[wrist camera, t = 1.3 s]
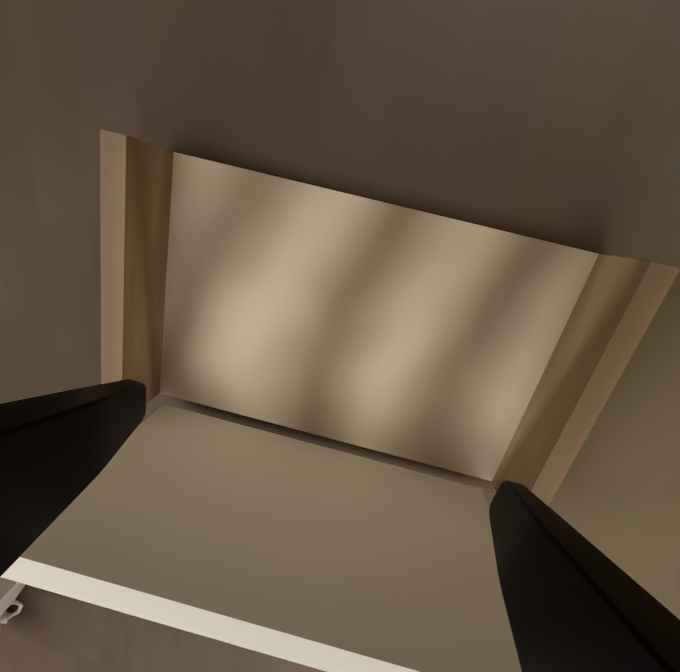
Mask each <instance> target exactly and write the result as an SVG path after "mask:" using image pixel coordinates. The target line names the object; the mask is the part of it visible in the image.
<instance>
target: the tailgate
mask: <svg viewBox="0 0 680 672" xmlns="http://www.w3.org/2000/svg"><path fill="white" fill-rule="evenodd" d="M1 577H2V578H6V579H9V580H13V581H16V582H19V583H23V584H26V585H30V586H33V587H37V588H40V589H44V590H47V591H51V592H54V593H57V594H61V595H64V596H68V597H71V598H75V599H78V600H82V601H85V602H89V603H92V604H95V605H99V606H102V607H106V608H109V609H113V610H116V611H120V612H123V613H127V614H130V615H133V616H137V617H140V618H144V619H147V620H151V621H154V622H158V623H161V624H165V625H168V626H171V627H175V628H178V629H182V630H185V631H189V632H192V633H196V634H199V635H202V636H206V637H209V638H213V639H216V640H220V641H223V642H227V643H230V644H234V645H237V646H240V647H244V648H247V649H251V650H254V651H258V652H261V653H265V654H268V655H272V656H275V657H278V658H282V659H285V660H289V661H292V662H296V663H299V664H303V665H306V666H310V667H313V668H316V669H320V670H323V671H327V672H522V670H521V666H520V662H519V659H518V655H517V651H516V647H515V643H514V639H513V635H512V631H511V627H510V623H509V619H508V615H507V611H506V607H505V603H504V599H503V595H502V591H501V587H500V582H499V577H498V571H497V565H496V558H495V551H494V545H493V538H492V532H491V525H490V518H489V506H488V504H487V501H486V498H485V496H484V493H483V491H482V489H481V488H477V487H473V486H470V485H466V484H462V483H458V482H455V481H451V480H447V479H443V478H440V477H436V476H432V475H428V474H425V473H421V472H417V471H413V470H410V469H406V468H402V467H398V466H395V465H391V464H387V463H383V462H380V461H376V460H372V459H368V458H365V457H361V456H357V455H353V454H350V453H346V452H342V451H338V450H335V449H331V448H327V447H323V446H320V445H316V444H312V443H308V442H305V441H301V440H297V439H293V438H289V437H286V436H282V435H278V434H274V433H271V432H267V431H263V430H259V429H256V428H252V427H248V426H244V425H241V424H237V423H233V422H229V421H226V420H222V419H218V418H214V417H211V416H207V415H203V414H199V413H196V412H192V411H188V410H184V409H181V408H177V407H173V406H169V405H166V404H164V405H163V406H162V407H160V408H159V409H158V410H157V411H156V412H154V413H153V414H152V415H151V416H150V417H148V418H147V419H146V420H145V421H144V422H142V423H141V424H140V425H139V426H138V427H137V428H136V429H135V430H134V432H133V433H132V434H131V435H130V437H129V438H128V439H127V440H126V442H125V443H124V444H123V445H122V447H121V448H120V449H119V450H118V452H117V453H116V454H115V456H114V457H113V458H112V459H111V461H110V462H109V463H108V464H107V465H106V467H105V468H104V469H103V470H102V471H101V472H100V474H99V475H98V476H97V477H96V478H95V479H94V480H93V481H92V482H91V483H90V484H89V485H88V486H87V487H86V488H85V489H84V491H83V492H82V493H81V494H80V495H79V496H78V497H77V498H76V499H75V500H74V501H73V502H72V503H71V504H70V505H69V506H68V507H67V508H66V509H65V510H64V511H63V512H62V513H61V514H60V515H59V517H58V518H57V519H56V520H55V521H54V522H53V523H52V524H51V525H50V526H49V527H48V528H47V529H46V530H45V531H44V532H43V533H42V534H41V535H40V536H39V537H38V538H37V539H36V540H35V541H34V543H33V544H32V545H31V546H30V547H29V548H28V549H27V550H26V551H25V552H24V553H23V554H22V555H21V556H20V557H19V558H18V559H17V560H16V561H15V562H14V563H13V564H12V565H11V566H10V567H9V569H8V570H7V571H6V572H5V573H4V574H3V575H2V576H1Z"/></svg>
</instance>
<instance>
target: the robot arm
mask: <svg viewBox="0 0 680 672" xmlns="http://www.w3.org/2000/svg"><path fill="white" fill-rule="evenodd" d="M146 392H147V388H146V385H145V384H144V383H143V382H139V381H135V380H132V379H125V380H120V381H115V382H110V383H104V384H99V385H94V386H89V387H84V388H79V389H74V390H69V391H64V392H58V393H53V394H48V395H43V396H38V397H33V398H28V399H23V400H18V401H12V402H7V403H2V404H0V577H1V576H2V575H3V574H4V573H5V572H6V571H7V570H8V569H9V567H10V566H11V565H12V564H13V563H14V562H15V561H16V560H17V559H18V558H19V557H20V556H21V555H22V554H23V553H24V552H25V551H26V550H27V549H28V548H29V547H30V546H31V545H32V544H33V543H34V541H35V540H36V539H37V538H38V537H39V536H40V535H41V534H42V533H43V532H44V531H45V530H46V529H47V528H48V527H49V526H50V525H51V524H52V523H53V522H54V521H55V520H56V519H57V518H58V517H59V515H60V514H61V513H62V512H63V511H64V510H65V509H66V508H67V507H68V506H69V505H70V504H71V503H72V502H73V501H74V500H75V499H76V498H77V497H78V496H79V495H80V494H81V493H82V492H83V491H84V489H85V488H86V487H87V486H88V485H89V484H90V483H91V482H92V481H93V480H94V479H95V478H96V477H97V476H98V475H99V474H100V472H101V471H102V470H103V469H104V468H105V467H106V465H107V464H108V463H109V462H110V461H111V459H112V458H113V457H114V456H115V454H116V453H117V452H118V450H119V449H120V448H121V447H122V445H123V444H124V443H125V442H126V440H127V439H128V438H129V437H130V435H131V434H132V433H133V432H134V430H135V429H136V428H137V427H138V425H139V424H140V423H141V421H142V420H143V418H144V416H145V412H146ZM489 518H490V525H491V532H492V538H493V545H494V551H495V558H496V565H497V571H498V577H499V582H500V587H501V591H502V595H503V599H504V603H505V607H506V611H507V615H508V619H509V623H510V627H511V631H512V635H513V639H514V643H515V647H516V651H517V655H518V659H519V662H520V666H521V670H522V672H680V620H679V619H678V618H677V617H676V616H675V615H673V614H672V613H671V612H670V611H669V610H668V609H667V608H665V607H664V606H663V605H662V604H661V603H660V602H658V601H657V600H656V599H655V598H654V597H653V596H652V595H650V594H649V593H648V592H647V591H646V590H645V589H643V588H642V587H641V586H640V585H639V584H638V583H636V582H635V581H634V580H633V579H632V578H631V577H630V576H628V575H627V574H626V573H625V572H624V571H623V570H621V569H620V568H619V567H618V566H617V565H616V564H614V563H613V562H612V561H611V560H610V559H609V558H608V557H606V556H605V555H604V554H603V553H602V552H601V551H599V550H598V549H597V548H596V547H595V546H594V545H593V544H591V543H590V542H589V541H588V540H587V539H586V538H584V537H583V536H582V535H581V534H580V533H579V532H577V531H576V530H575V529H574V528H573V527H572V526H571V525H569V524H568V523H567V522H566V521H565V520H564V519H562V518H561V517H560V516H559V515H558V514H557V513H556V512H554V511H553V510H552V509H551V508H550V507H549V506H547V505H546V504H545V503H544V502H543V501H542V500H540V499H539V498H538V497H537V496H536V495H535V494H534V493H532V492H531V491H530V490H529V489H528V488H527V487H525V486H524V485H523V484H521V483H517V482H514V481H510V480H504V481H502V482H501V484H500V486H499V488H498V490H497V492H496V494H495V496H494V498H493V500H492V502H491V505H490V508H489Z"/></svg>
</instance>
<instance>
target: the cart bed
mask: <svg viewBox="0 0 680 672" xmlns="http://www.w3.org/2000/svg"><path fill="white" fill-rule="evenodd" d="M100 207H101V380H102V384H104V383H110V382H115V381H120V380H125V379H132V380H135V381H139V382H143V383H144V384H145V385H146V388H147V392H146V403H147V402H149V401H150V400H151V399H153V398H154V397H155V396H157V395H158V394H159V393H161V394H164V395H168V396H172V397H176V398H179V399H183V400H187V401H191V402H195V403H198V404H202V405H206V406H210V407H213V408H217V409H221V410H225V411H228V412H232V413H236V414H240V415H244V416H247V417H251V418H255V419H259V420H262V421H266V422H270V423H274V424H277V425H281V426H285V427H289V428H293V429H296V430H300V431H304V432H308V433H311V434H315V435H319V436H323V437H326V438H330V439H334V440H338V441H342V442H345V443H349V444H353V445H357V446H360V447H364V448H368V449H372V450H375V451H379V452H383V453H387V454H391V455H394V456H398V457H402V458H406V459H409V460H413V461H417V462H421V463H424V464H428V465H432V466H436V467H440V468H443V469H447V470H451V471H455V472H458V473H462V474H466V475H470V476H473V477H477V478H481V479H485V480H488V481H492V483H493V485H494V487H495V490H496V492H497V490H498V488H499V486H500V484H501V482H502V481H504V480H510V481H514V482H517V483H521V484H523V485H524V486H525V487H527V488H528V489H529V490H530V491H531V492H532V493H534V494H535V495H536V496H537V497H538V498H539V499H540V500H542V501H543V502H544V503H545V504H546V505H547V506H549V504H550V503H551V501H552V499H553V497H554V495H555V494H556V492H557V490H558V488H559V486H560V485H561V483H562V481H563V479H564V477H565V476H566V474H567V472H568V470H569V469H570V467H571V465H572V463H573V461H574V460H575V458H576V456H577V454H578V452H579V451H580V449H581V447H582V445H583V443H584V442H585V440H586V438H587V436H588V434H589V433H590V431H591V429H592V427H593V425H594V424H595V422H596V420H597V418H598V416H599V415H600V413H601V411H602V409H603V407H604V406H605V404H606V402H607V400H608V398H609V397H610V395H611V393H612V391H613V389H614V388H615V386H616V384H617V382H618V380H619V379H620V377H621V375H622V373H623V371H624V370H625V368H626V366H627V364H628V362H629V361H630V359H631V357H632V355H633V354H634V352H635V350H636V348H637V346H638V345H639V343H640V341H641V339H642V337H643V336H644V334H645V332H646V330H647V328H648V327H649V325H650V323H651V321H652V319H653V318H654V316H655V314H656V312H657V310H658V309H659V307H660V305H661V303H662V301H663V300H664V298H665V296H666V294H667V292H668V291H669V289H670V287H671V285H672V283H673V282H674V280H675V278H676V276H677V274H678V273H679V271H680V268H679V267H674V266H670V265H666V264H662V263H658V262H653V261H647V260H640V259H633V258H626V257H618V256H611V255H604V254H598V253H593V252H589V251H585V250H581V249H577V248H572V247H568V246H564V245H560V244H556V243H552V242H547V241H543V240H539V239H535V238H531V237H527V236H522V235H518V234H514V233H510V232H506V231H502V230H497V229H493V228H489V227H485V226H481V225H476V224H472V223H468V222H464V221H460V220H456V219H451V218H447V217H443V216H439V215H435V214H431V213H426V212H422V211H418V210H414V209H410V208H406V207H401V206H397V205H393V204H389V203H385V202H380V201H376V200H372V199H368V198H364V197H360V196H355V195H351V194H347V193H343V192H339V191H335V190H330V189H326V188H322V187H318V186H314V185H310V184H305V183H301V182H297V181H293V180H289V179H284V178H280V177H276V176H272V175H268V174H264V173H259V172H255V171H251V170H247V169H243V168H239V167H234V166H230V165H226V164H222V163H218V162H214V161H209V160H205V159H201V158H197V157H193V156H188V155H184V154H180V153H176V152H172V151H169V150H167V149H164V148H161V147H158V146H155V145H152V144H149V143H146V142H144V141H141V140H138V139H135V138H132V137H129V136H126V135H122V134H118V133H114V132H110V131H105V130H101V129H100Z"/></svg>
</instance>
